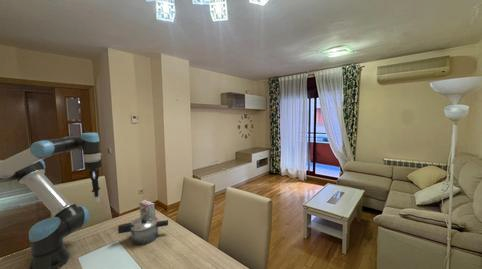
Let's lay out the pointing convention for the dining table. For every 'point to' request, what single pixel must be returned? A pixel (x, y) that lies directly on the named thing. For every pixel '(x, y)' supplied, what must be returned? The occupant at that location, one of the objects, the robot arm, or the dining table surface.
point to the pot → (145, 234)
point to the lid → (140, 224)
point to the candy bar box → (147, 208)
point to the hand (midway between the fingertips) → (97, 201)
